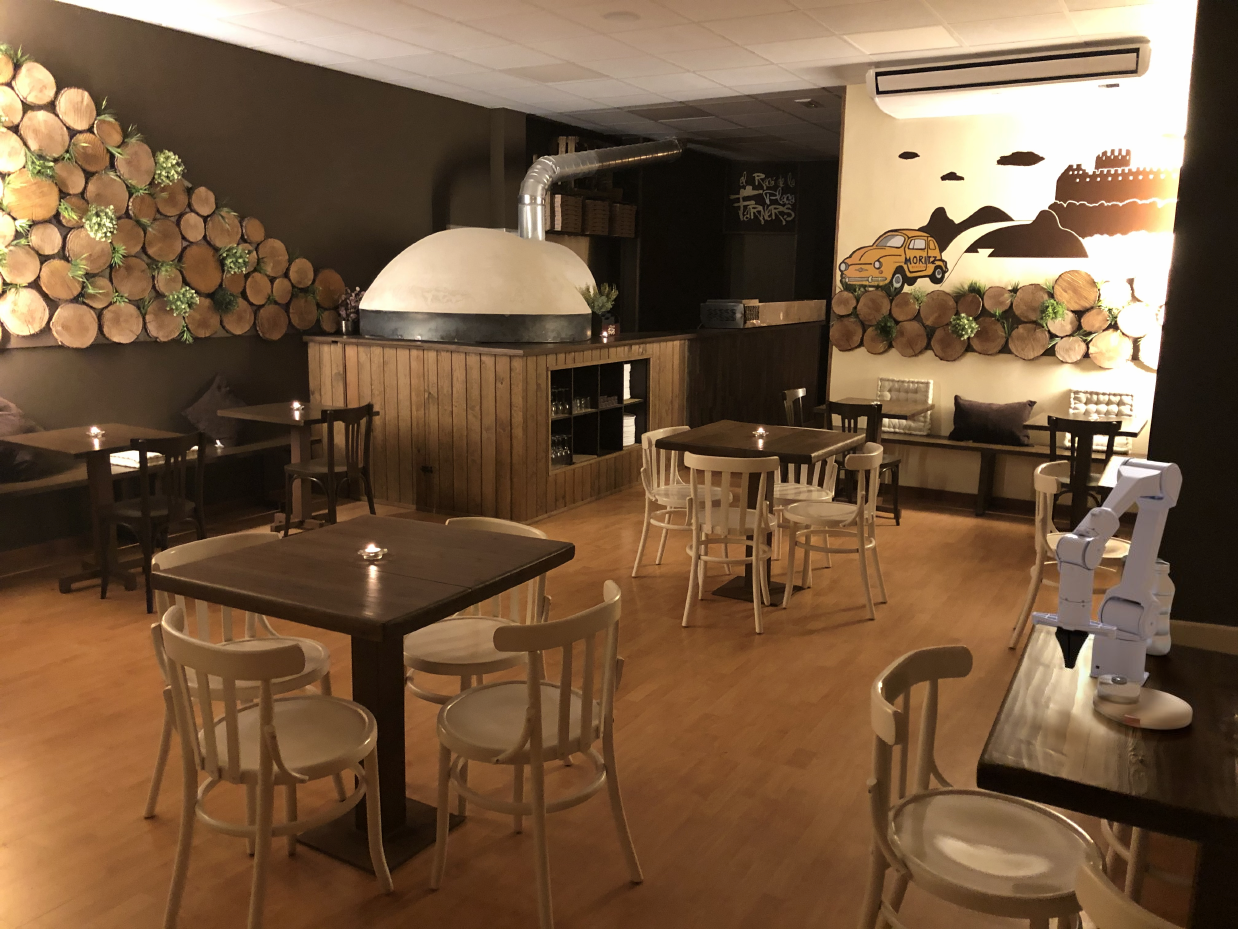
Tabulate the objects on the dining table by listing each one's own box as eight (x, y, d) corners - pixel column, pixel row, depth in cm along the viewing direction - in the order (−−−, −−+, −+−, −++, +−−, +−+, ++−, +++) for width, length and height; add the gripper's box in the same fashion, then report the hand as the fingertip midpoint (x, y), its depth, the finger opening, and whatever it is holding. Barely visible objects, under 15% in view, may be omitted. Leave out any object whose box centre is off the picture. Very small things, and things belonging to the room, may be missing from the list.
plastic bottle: (1174, 659, 204) (1182, 568, 201) (1139, 657, 206) (1147, 566, 202) (1164, 649, 211) (1172, 559, 207) (1130, 647, 212) (1137, 558, 209)
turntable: (1082, 714, 176) (1083, 706, 176) (1103, 686, 189) (1104, 678, 188) (1183, 738, 166) (1184, 729, 166) (1198, 706, 179) (1199, 699, 179)
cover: (1092, 698, 179) (1094, 680, 179) (1101, 686, 185) (1103, 668, 184) (1134, 708, 175) (1136, 689, 174) (1142, 695, 180) (1144, 677, 180)
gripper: (1028, 596, 183) (1024, 664, 186) (1112, 610, 174) (1106, 682, 177) (1039, 587, 189) (1034, 654, 191) (1121, 601, 180) (1115, 671, 182)
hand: (1070, 667), depth 184 cm, fingers closed
